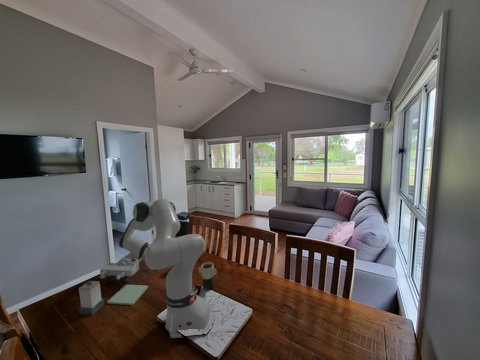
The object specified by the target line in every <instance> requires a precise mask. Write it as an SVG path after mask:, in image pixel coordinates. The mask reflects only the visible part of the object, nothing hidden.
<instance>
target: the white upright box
mask: <svg viewBox="0 0 480 360" xmlns="http://www.w3.org/2000/svg"><path fill="white" fill-rule="evenodd" d="M100 283H101V282H100V281H98V280H88V281H86V282H85V283H84V284H83V285H81V286H80V287H78V292H79V300H80V307H85V308H93V307H94V306H95V305H96V304H97V303H98V302H99V301H100V300H102V299H103V298H102V290H101V284H100Z"/></svg>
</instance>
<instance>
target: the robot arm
mask: <svg viewBox="0 0 480 360" xmlns="http://www.w3.org/2000/svg"><path fill="white" fill-rule="evenodd" d="M132 216H133V218H132V219H131V220H130V221H129V223H128V224H127V226H126V228H125V230H124V232H123V234H122V235H121V237H120V239H119V240H118V246H119V248H122V249H124V250H126V251H128V252H129V253H128V254H125V256H123V257H122V258H120V259H119V260H118V262H109V263H108V264H105V265H104V266H102V267H101V268H99V272H100V273H99V274H100V276H99V279H105V278H106V276H115V280H120V279H121V278H123V277H132V276H134V275H135V274H136V273H137V272H138V271H139V268H140V265H139V263H140V262H141V261H142V260H143V259H144V263H145V265H146V266H147V267H148V268H149V269H150V270H152V271H153V270H154V271H155V270H162V269H167V268H169V267H172V266H173V267H172V268H171V270H169V272H168V273H167V275H166V277H165V287H166V288H165V289H166V292H165V303H166V316H165V317H166V318H165V321H166V325H165V324H164V326H165V329H166V331H168V333H169V336H170V338H171V339H177V338H183V337H182V336H181V334H179V333H177V331H176V330H188V329H199V330H200V329H205V328H207V326H211V325H212V323H213V322H214V319H215V320H216V314H215V315H214V314H211V312H215V313H216V311H215V309H214V308H213V307H211V306H210V303H209V301H208V300H206V299H205V298H202V297H201V296H200V295H198V294H197V293H198V288H196V289H194V287H193V270H194V267H195V265H196V263H197V262H198V259H199V258H200V257H201V256H202V255H203V254H204V252H205V249H206V242H205V239H204V238H203V236H202V235H200V234H199V233H191V234H190V233H189V234H185V235H180V236H177V237H175V236H176V235H177V234H178V233H179V231H180V229H181V222H180V220H179V217H178V215H177V213H176V206H175V204H174V203H173V202H171V201H169V200H167V199H166V198H158V199H156V200H155V201H150V200H148V201H143V202H142V201H141V202H137V203H136V204H134V206H133V209H132ZM152 228H155V238H154V240H153V242H152V243H151V244H150V245H149V243H148V242H147V241H146V240H144V239H142V238H140V237H139V236H136V235H135V234H134V231H135V230H136V231H139V232H147V231H150V230H151V229H152ZM214 323H215V322H214Z"/></svg>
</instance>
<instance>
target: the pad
mask: <svg viewBox="0 0 480 360" xmlns="http://www.w3.org/2000/svg"><path fill="white" fill-rule="evenodd" d="M148 288H149V285H141V284H124V285H123V286H122V287H121V288H120V289H119V290H118V291H117V292H116V293H115V294H114V295H113V296H112V297H111V298H109V300H107V304H109V305H126V306H127V305H129V306H133V305H134V304H135V303H136V302H137V301H138V300H139V298H140V297H141V296H142V295H143V294H144V292H146V290H147V289H148Z"/></svg>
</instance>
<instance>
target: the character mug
mask: <svg viewBox="0 0 480 360" xmlns="http://www.w3.org/2000/svg"><path fill="white" fill-rule="evenodd" d="M198 273H199V274H201V277H202V288H203V287H204V288H206V289H205V290H210V289H212V288H213V287H214V286H215V284H214V278H213V277H214V276H217V275H218V272H217V269H216V268H215V266H214V263H213V262H211V261H208V262H207V261H206V262H204V263H202V264H201V267H198ZM204 288H203V289H204Z"/></svg>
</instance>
